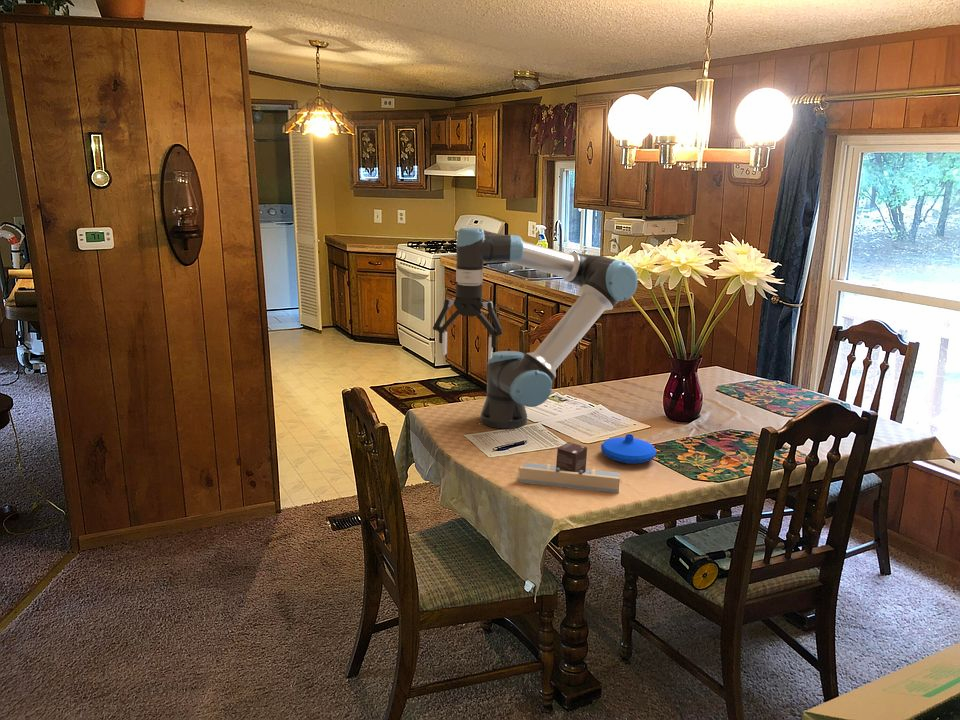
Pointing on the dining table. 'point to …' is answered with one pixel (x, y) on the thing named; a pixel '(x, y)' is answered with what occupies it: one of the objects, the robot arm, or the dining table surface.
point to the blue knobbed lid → (628, 450)
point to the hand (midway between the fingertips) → (467, 356)
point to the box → (571, 457)
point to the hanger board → (569, 478)
